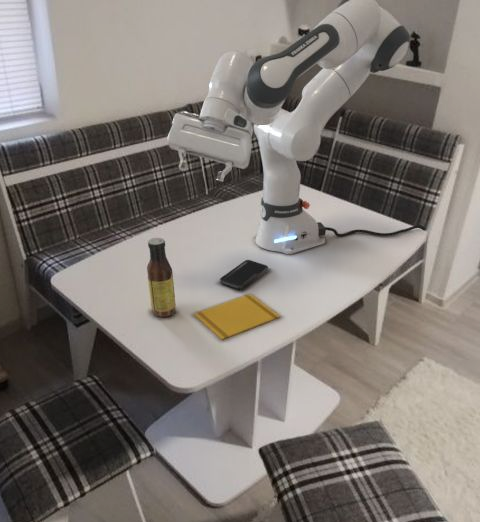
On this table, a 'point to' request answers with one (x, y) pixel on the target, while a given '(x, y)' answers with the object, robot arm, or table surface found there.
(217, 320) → the tray
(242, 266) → the phone
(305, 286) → the table surface
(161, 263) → the sauce bottle
